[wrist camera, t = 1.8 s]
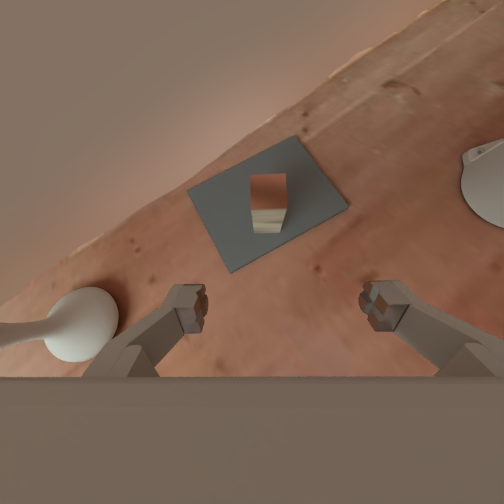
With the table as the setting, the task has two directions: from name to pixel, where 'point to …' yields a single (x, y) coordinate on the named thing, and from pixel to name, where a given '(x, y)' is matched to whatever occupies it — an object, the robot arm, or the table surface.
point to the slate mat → (239, 202)
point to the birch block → (268, 202)
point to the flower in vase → (70, 325)
